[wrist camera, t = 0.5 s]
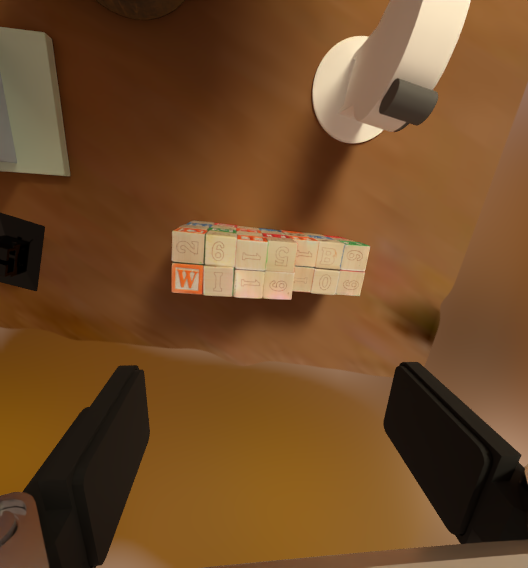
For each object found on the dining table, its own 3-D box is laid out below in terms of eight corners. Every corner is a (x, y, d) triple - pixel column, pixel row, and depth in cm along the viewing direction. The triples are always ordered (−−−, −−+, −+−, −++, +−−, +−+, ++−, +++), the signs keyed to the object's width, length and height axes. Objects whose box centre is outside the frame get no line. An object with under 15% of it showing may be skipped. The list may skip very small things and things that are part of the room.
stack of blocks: (341, 235, 39) (386, 251, 28) (333, 276, 41) (372, 307, 29) (191, 219, 37) (170, 229, 25) (190, 264, 38) (169, 293, 27)
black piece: (44, 300, 39) (20, 314, 34) (-13, 285, 37) (-47, 297, 33) (56, 216, 35) (30, 219, 31) (-7, 196, 34) (-44, 196, 30)
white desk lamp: (379, 158, 36) (471, 133, 22) (300, 135, 35) (344, 91, 20) (413, 55, 33) (546, -53, 19) (327, 23, 31) (403, -122, 17)
